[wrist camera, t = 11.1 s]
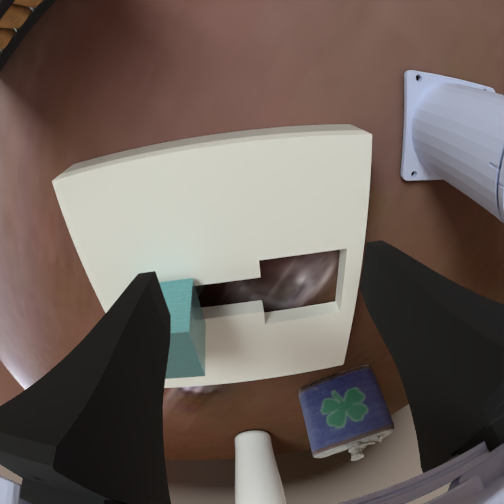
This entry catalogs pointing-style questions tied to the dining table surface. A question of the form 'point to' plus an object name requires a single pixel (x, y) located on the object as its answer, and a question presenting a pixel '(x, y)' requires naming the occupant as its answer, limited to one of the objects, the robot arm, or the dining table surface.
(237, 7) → the dining table surface
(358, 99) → the dining table surface
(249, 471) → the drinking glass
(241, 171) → the keyhole plate
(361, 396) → the flask
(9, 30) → the ammunition clip
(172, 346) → the peg
